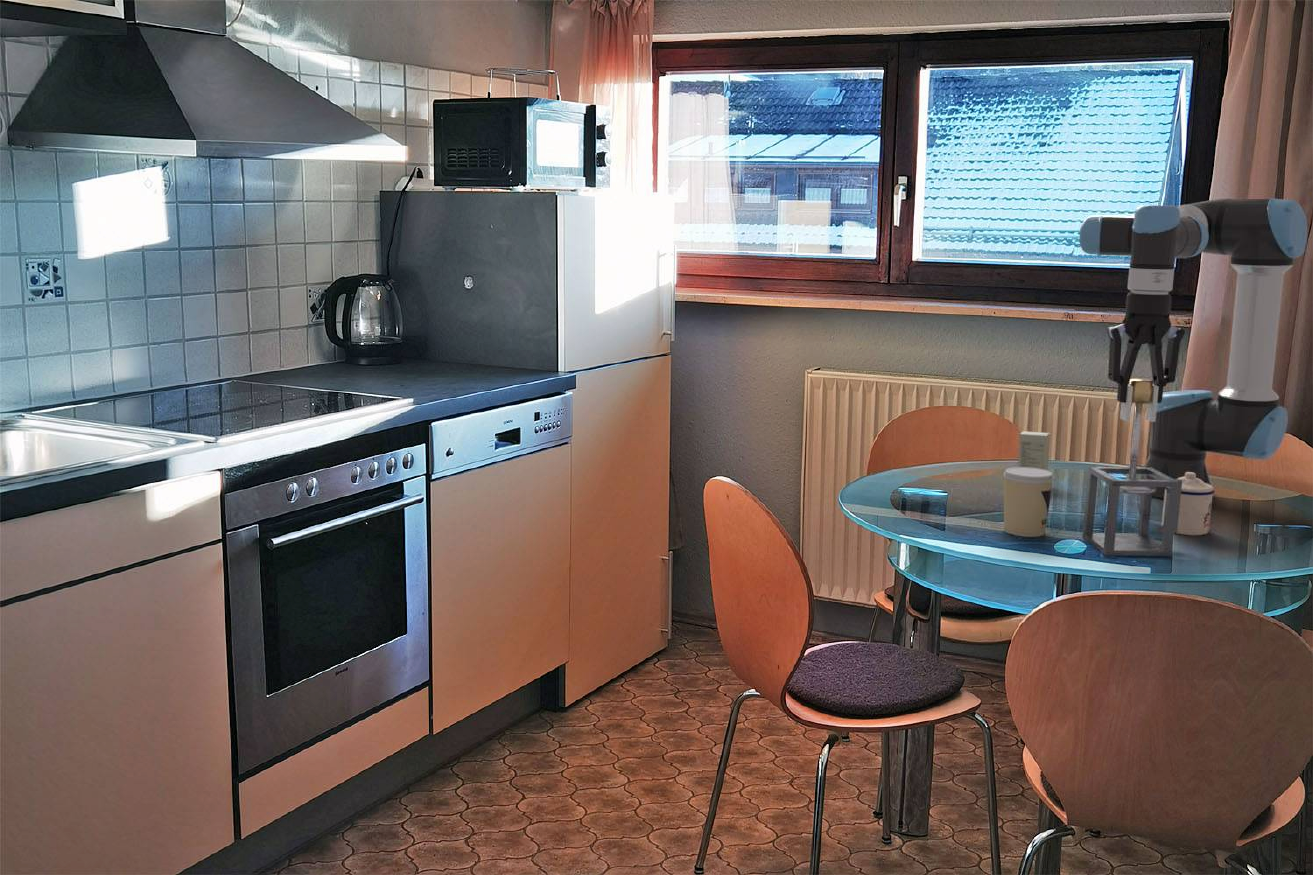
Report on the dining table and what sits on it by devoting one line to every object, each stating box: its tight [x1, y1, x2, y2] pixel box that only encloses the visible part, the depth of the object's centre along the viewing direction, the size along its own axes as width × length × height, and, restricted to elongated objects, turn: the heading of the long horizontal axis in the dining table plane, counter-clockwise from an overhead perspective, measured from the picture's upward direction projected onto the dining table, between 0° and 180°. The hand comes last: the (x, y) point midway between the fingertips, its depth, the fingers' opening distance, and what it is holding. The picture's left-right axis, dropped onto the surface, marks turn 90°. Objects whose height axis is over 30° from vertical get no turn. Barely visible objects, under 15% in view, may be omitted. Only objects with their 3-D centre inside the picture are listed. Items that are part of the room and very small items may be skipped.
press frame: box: [1082, 466, 1182, 557], centre depth 223 cm, size 15×12×14 cm
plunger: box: [1106, 378, 1156, 495], centre depth 220 cm, size 8×8×20 cm
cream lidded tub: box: [1003, 466, 1055, 538], centre depth 233 cm, size 9×9×12 cm
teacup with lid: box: [1161, 472, 1215, 536], centre depth 237 cm, size 12×9×12 cm
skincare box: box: [1017, 430, 1051, 471], centre depth 272 cm, size 6×4×12 cm
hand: (1137, 420), depth 220 cm, fingers closed on plunger, 4 cm apart
